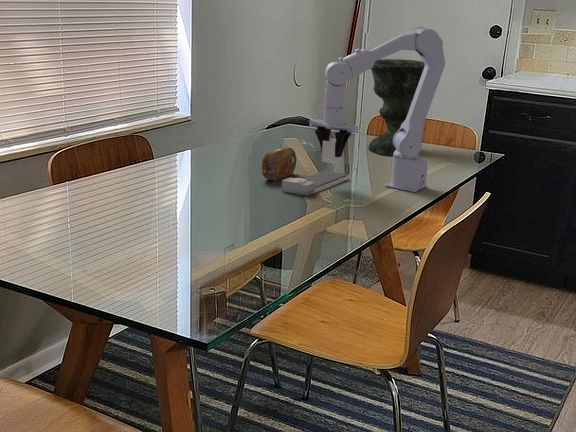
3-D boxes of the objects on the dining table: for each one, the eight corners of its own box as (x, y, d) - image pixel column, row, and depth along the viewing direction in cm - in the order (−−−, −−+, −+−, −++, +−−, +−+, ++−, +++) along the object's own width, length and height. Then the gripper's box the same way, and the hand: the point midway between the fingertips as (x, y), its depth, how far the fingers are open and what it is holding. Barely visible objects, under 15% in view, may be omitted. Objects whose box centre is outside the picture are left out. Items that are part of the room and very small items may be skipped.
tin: (268, 183, 212) (269, 154, 209) (259, 181, 213) (260, 153, 211) (296, 173, 224) (297, 145, 221) (287, 171, 225) (288, 144, 223)
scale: (348, 179, 219) (349, 167, 218) (306, 196, 200) (306, 183, 199) (325, 174, 223) (325, 163, 222) (281, 191, 204) (281, 178, 203)
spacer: (341, 161, 210) (342, 140, 208) (334, 163, 206) (335, 142, 205) (329, 159, 212) (330, 138, 210) (321, 161, 209) (322, 140, 207)
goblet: (350, 151, 255) (355, 61, 246) (381, 140, 273) (387, 57, 263) (408, 161, 243) (416, 68, 234) (437, 150, 261) (445, 63, 252)
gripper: (304, 105, 205) (302, 153, 209) (350, 112, 198) (347, 161, 202) (317, 102, 211) (315, 149, 215) (363, 108, 203) (359, 157, 207)
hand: (331, 155), depth 209 cm, fingers closed on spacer, 4 cm apart
